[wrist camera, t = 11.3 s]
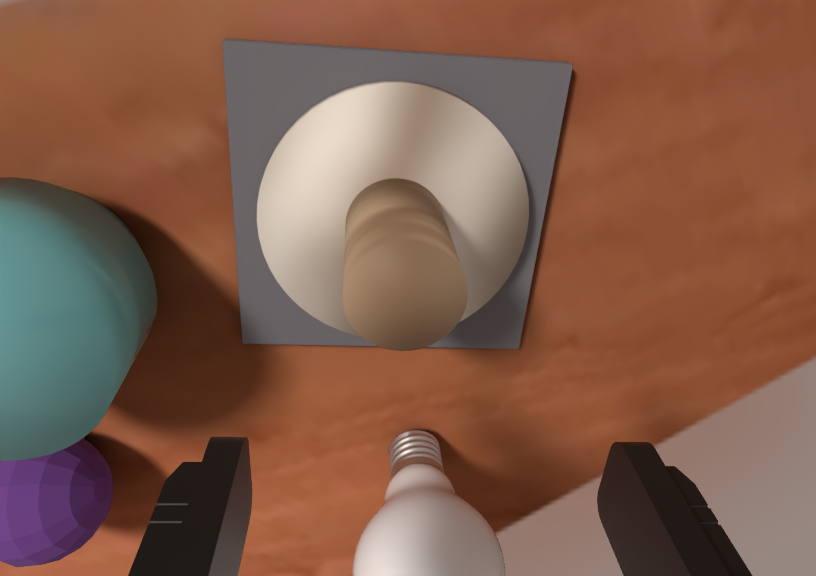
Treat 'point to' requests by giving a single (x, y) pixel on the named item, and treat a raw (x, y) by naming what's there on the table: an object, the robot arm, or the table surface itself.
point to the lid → (392, 212)
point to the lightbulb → (425, 521)
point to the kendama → (52, 504)
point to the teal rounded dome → (64, 314)
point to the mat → (350, 66)
